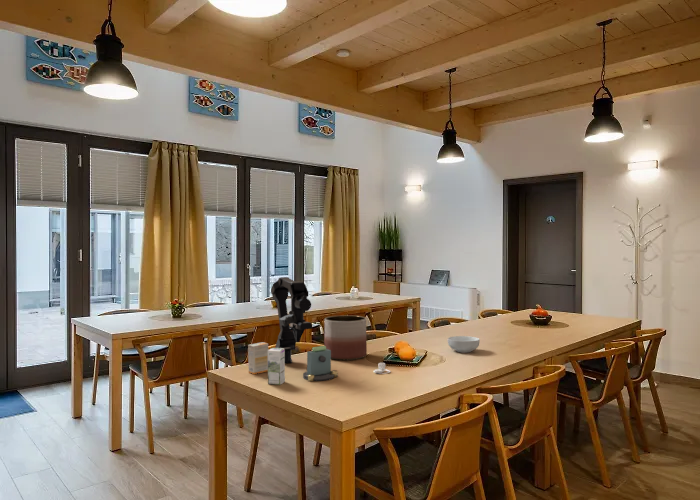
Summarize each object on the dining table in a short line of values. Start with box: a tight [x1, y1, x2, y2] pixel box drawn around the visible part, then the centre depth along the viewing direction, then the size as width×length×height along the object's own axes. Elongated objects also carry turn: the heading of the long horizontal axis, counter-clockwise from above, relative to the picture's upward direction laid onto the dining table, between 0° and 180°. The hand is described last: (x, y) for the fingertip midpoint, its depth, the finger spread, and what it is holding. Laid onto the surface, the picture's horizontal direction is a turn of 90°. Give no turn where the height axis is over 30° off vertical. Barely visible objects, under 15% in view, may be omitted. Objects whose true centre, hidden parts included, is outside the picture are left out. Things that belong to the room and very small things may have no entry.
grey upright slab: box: [306, 345, 332, 375], centre depth 222 cm, size 6×10×12 cm, turn 123°
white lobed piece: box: [373, 362, 391, 375], centre depth 232 cm, size 9×8×4 cm
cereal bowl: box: [447, 335, 480, 354], centre depth 274 cm, size 17×17×7 cm
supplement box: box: [247, 341, 269, 375], centre depth 232 cm, size 8×5×13 cm, turn 134°
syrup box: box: [267, 347, 286, 386], centre depth 214 cm, size 6×6×14 cm
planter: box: [323, 314, 368, 361], centre depth 263 cm, size 22×22×20 cm
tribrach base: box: [302, 369, 339, 383], centre depth 224 cm, size 15×15×2 cm
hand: (297, 342), depth 236 cm, fingers closed
